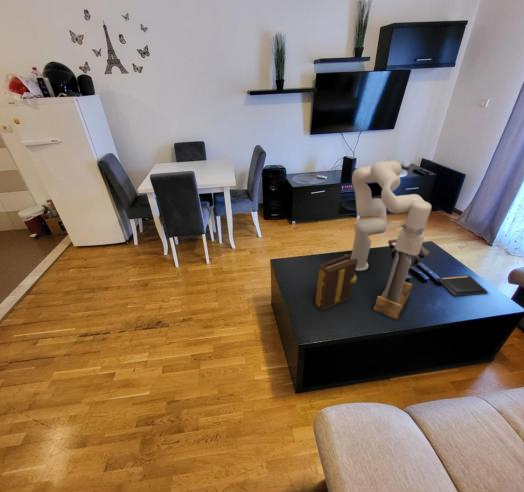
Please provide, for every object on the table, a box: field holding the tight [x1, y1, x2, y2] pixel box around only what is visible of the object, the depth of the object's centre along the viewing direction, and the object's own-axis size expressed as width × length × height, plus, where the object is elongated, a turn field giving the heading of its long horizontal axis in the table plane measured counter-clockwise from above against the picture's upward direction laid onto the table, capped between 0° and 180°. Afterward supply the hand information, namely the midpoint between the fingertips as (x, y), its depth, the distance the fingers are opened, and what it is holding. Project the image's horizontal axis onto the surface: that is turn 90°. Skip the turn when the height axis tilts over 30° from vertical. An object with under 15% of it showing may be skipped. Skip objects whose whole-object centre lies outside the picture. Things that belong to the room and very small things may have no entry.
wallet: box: [436, 275, 488, 297], centre depth 155 cm, size 20×2×15 cm
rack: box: [372, 281, 413, 321], centre depth 143 cm, size 12×20×9 cm, turn 142°
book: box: [314, 253, 358, 311], centre depth 141 cm, size 22×8×25 cm, turn 117°
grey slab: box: [384, 250, 412, 303], centre depth 136 cm, size 14×6×30 cm, turn 155°
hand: (403, 261), depth 130 cm, fingers open, 9 cm apart
